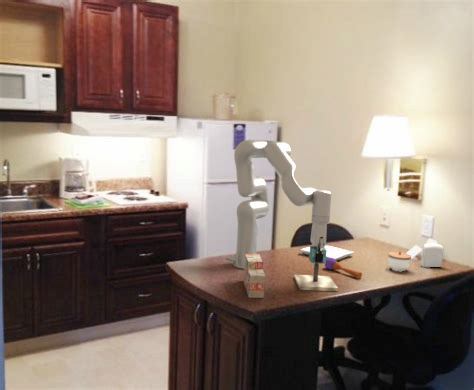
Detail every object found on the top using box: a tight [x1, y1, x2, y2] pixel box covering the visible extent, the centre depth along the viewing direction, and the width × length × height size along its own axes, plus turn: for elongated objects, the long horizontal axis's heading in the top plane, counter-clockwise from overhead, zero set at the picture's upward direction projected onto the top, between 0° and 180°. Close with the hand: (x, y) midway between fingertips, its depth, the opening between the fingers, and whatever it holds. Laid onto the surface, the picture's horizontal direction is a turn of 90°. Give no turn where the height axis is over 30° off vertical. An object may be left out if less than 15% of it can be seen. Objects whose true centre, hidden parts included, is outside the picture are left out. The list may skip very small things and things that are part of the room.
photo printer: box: [420, 242, 444, 268], centre depth 255 cm, size 10×4×12 cm, turn 89°
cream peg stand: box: [293, 263, 339, 292], centre depth 216 cm, size 16×16×10 cm
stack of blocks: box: [243, 253, 266, 299], centre depth 206 cm, size 21×6×12 cm, turn 5°
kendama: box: [324, 257, 363, 280], centre depth 236 cm, size 6×6×20 cm
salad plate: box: [300, 244, 355, 261], centre depth 266 cm, size 21×21×3 cm
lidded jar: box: [387, 251, 412, 273], centre depth 246 cm, size 11×11×9 cm
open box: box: [308, 245, 327, 265], centre depth 215 cm, size 6×6×6 cm
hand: (317, 259), depth 215 cm, fingers closed on open box, 5 cm apart
